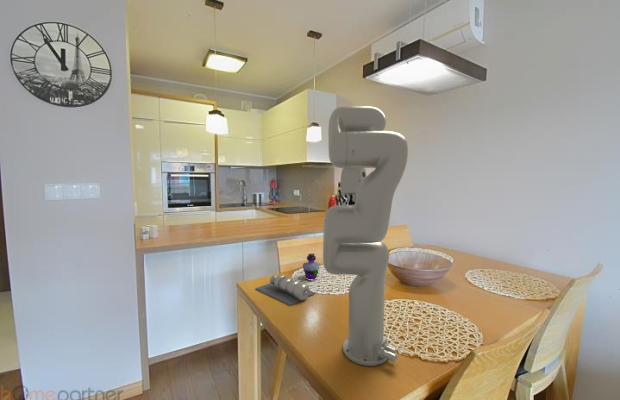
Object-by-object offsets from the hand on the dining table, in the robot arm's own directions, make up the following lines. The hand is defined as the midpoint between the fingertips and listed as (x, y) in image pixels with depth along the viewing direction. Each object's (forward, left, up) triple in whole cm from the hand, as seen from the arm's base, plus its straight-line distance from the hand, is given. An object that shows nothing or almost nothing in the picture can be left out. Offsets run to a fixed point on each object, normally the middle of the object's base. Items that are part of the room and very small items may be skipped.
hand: (352, 211), depth 106 cm
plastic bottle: (+10, +16, -32) cm, 37 cm away
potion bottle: (+26, -4, -35) cm, 44 cm away
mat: (+24, +15, -35) cm, 45 cm away
